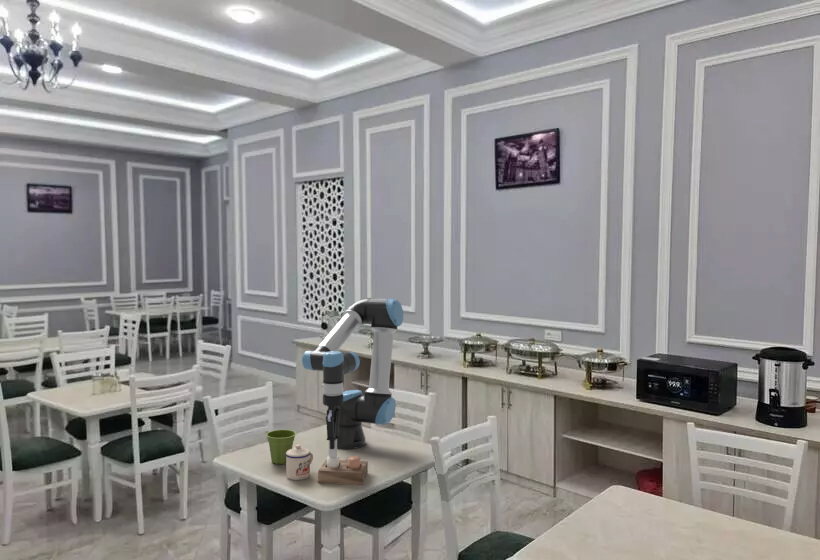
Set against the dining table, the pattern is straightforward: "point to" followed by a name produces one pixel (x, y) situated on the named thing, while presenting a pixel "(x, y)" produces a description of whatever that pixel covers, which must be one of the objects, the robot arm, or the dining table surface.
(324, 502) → the dining table surface
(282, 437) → the plant pot
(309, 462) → the teacup with lid
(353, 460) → the brown egg
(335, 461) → the white egg
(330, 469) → the wooden egg holder
